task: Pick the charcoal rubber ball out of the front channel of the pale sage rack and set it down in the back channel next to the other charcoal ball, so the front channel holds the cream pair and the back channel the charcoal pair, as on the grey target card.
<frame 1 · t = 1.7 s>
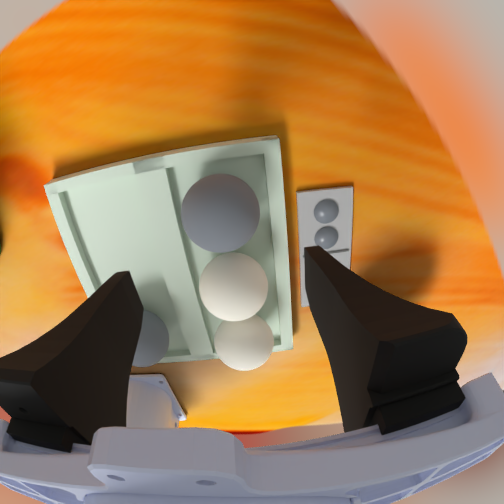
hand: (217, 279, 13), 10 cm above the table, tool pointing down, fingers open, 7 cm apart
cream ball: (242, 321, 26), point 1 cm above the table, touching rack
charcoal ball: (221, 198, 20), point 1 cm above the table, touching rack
rack: (180, 270, 24), on the table
cream ball middle: (232, 267, 23), point 1 cm above the table, touching rack
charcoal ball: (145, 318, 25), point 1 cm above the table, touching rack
target card: (325, 250, 24), on the table
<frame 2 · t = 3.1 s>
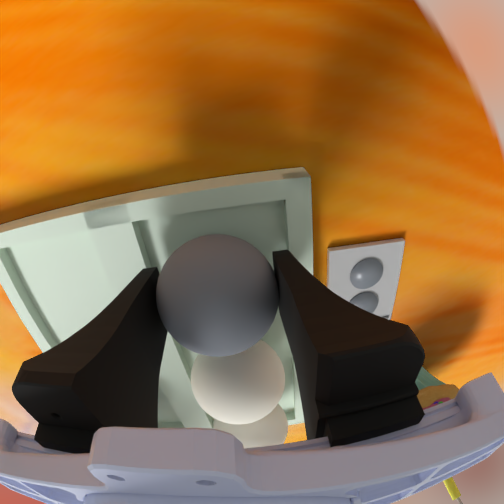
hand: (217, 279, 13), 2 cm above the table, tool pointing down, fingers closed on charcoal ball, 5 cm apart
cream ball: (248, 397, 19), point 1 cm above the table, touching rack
cupcake: (392, 379, 21), on the table
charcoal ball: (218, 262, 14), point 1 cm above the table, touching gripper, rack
rack: (166, 344, 17), on the table
cream ball middle: (236, 345, 17), point 1 cm above the table, touching rack
target card: (358, 318, 17), on the table
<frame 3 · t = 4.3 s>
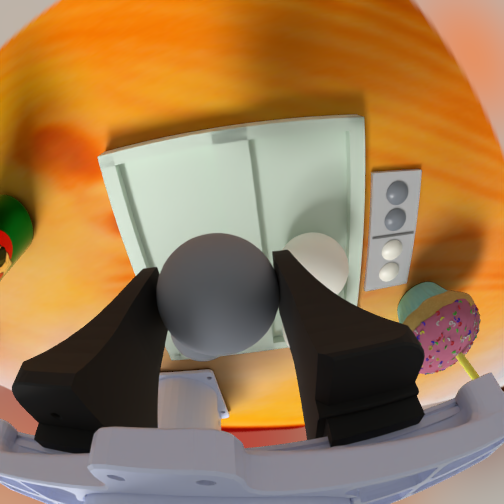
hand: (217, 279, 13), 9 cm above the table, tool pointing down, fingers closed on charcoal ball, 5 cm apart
cupcake: (416, 301, 27), on the table
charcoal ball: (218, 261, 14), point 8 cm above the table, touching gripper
rack: (247, 253, 22), on the table
cream ball middle: (305, 250, 22), point 1 cm above the table, touching rack
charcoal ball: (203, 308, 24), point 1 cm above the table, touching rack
target card: (391, 233, 22), on the table
soda can: (14, 219, 20), on the table
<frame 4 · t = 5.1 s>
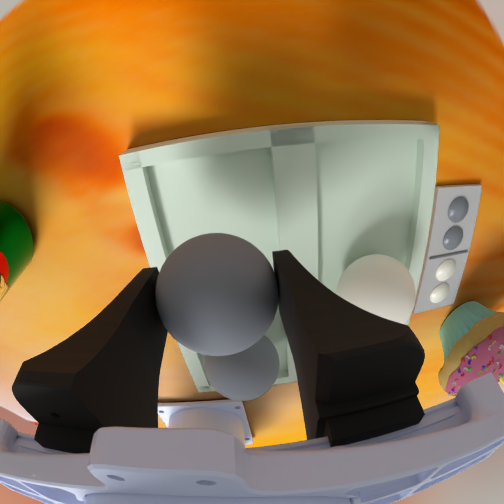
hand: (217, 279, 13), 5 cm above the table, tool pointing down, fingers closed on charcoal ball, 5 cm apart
cupcake: (458, 320, 23), on the table
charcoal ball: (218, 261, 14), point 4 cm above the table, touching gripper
rack: (296, 276, 19), on the table
cream ball middle: (362, 272, 19), point 1 cm above the table, touching rack
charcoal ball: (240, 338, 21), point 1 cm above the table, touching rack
target card: (447, 252, 19), on the table
soda can: (10, 231, 16), on the table
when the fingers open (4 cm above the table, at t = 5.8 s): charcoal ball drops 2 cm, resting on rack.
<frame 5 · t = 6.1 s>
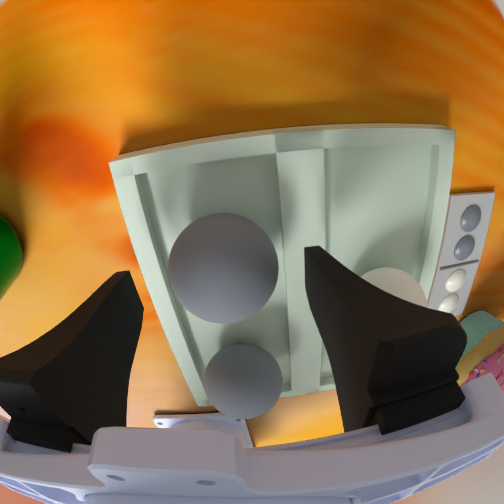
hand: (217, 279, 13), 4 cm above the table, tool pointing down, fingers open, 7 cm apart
cupcake: (465, 330, 22), on the table
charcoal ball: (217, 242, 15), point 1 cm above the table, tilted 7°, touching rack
rack: (301, 289, 18), on the table
cream ball middle: (370, 285, 17), point 1 cm above the table, touching rack
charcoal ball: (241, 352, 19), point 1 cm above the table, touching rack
target card: (457, 262, 18), on the table
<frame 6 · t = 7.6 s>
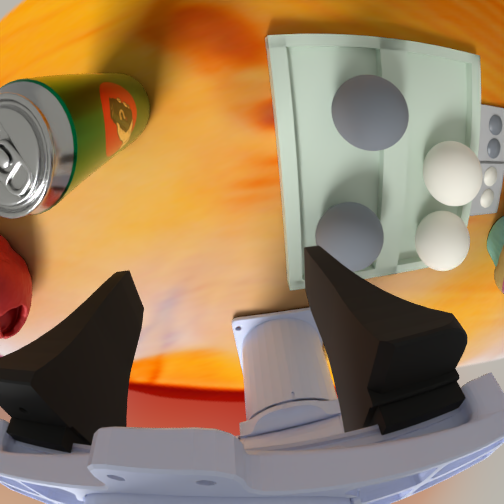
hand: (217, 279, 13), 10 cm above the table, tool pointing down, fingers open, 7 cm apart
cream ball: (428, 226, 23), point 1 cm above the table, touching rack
cupcake: (499, 235, 25), on the table
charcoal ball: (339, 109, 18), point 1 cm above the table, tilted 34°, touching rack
rack: (387, 162, 21), on the table
cream ball middle: (435, 163, 20), point 1 cm above the table, touching rack
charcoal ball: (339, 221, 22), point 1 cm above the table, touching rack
target card: (489, 161, 21), on the table
soda can: (116, 109, 18), on the table
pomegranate: (3, 266, 23), on the table
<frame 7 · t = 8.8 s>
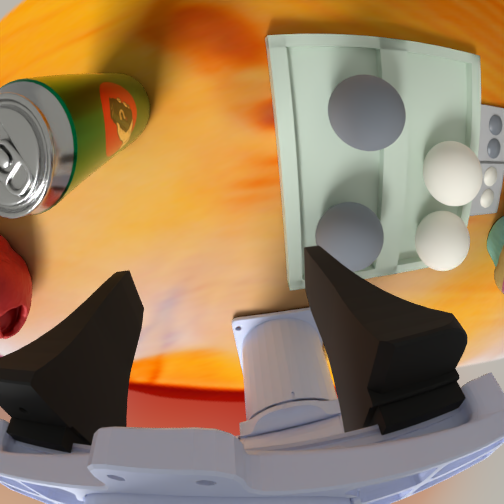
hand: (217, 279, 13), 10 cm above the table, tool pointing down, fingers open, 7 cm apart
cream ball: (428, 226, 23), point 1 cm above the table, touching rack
cupcake: (499, 235, 25), on the table
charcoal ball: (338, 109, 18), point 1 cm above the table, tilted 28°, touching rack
rack: (387, 162, 21), on the table
cream ball middle: (435, 163, 20), point 1 cm above the table, touching rack
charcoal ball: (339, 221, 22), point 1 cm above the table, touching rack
target card: (490, 161, 21), on the table
soda can: (116, 109, 18), on the table
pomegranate: (3, 266, 23), on the table
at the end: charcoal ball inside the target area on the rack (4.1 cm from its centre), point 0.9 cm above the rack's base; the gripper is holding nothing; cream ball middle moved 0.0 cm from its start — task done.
